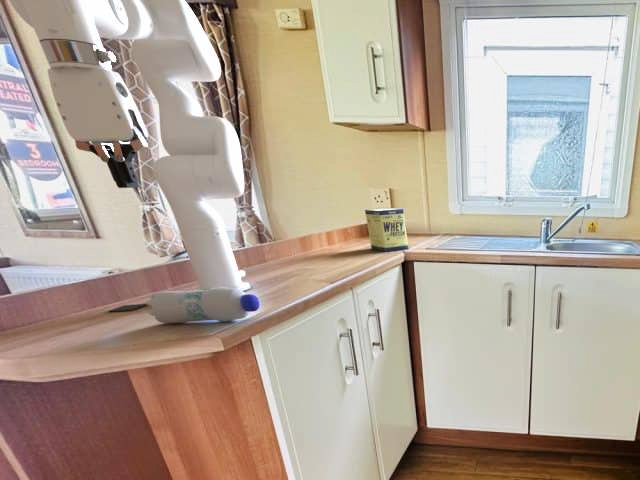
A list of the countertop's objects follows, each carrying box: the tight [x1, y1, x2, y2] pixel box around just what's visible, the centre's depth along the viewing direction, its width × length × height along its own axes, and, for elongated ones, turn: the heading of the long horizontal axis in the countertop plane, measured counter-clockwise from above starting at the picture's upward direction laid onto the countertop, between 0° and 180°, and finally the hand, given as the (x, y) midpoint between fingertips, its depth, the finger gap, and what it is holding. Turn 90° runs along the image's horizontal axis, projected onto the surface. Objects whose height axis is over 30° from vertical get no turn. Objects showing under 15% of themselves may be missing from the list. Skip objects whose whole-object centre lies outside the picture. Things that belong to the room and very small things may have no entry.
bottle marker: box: [108, 303, 148, 313], centre depth 97 cm, size 5×5×1 cm
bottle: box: [146, 287, 260, 324], centre depth 83 cm, size 7×7×20 cm
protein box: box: [364, 208, 409, 252], centre depth 175 cm, size 10×16×16 cm
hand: (129, 187), depth 75 cm, fingers closed
